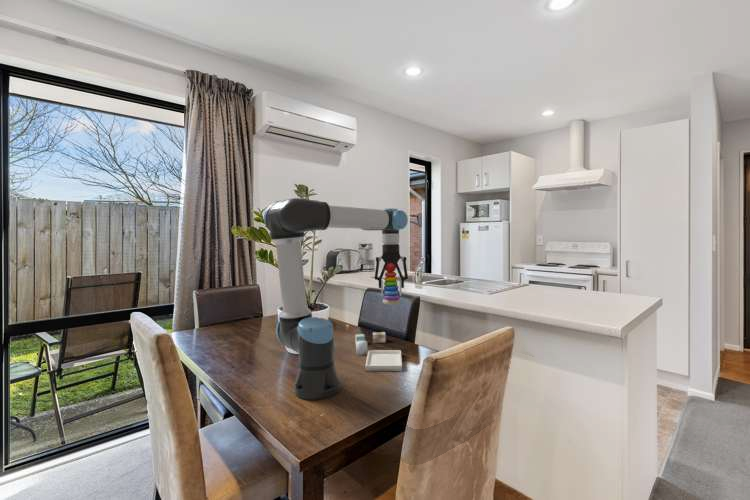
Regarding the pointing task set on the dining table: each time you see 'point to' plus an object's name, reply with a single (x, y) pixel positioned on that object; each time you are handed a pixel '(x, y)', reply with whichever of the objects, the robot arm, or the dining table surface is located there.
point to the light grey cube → (361, 347)
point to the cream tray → (383, 360)
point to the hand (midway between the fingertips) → (391, 295)
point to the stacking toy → (391, 286)
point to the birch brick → (379, 337)
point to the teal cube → (359, 337)
